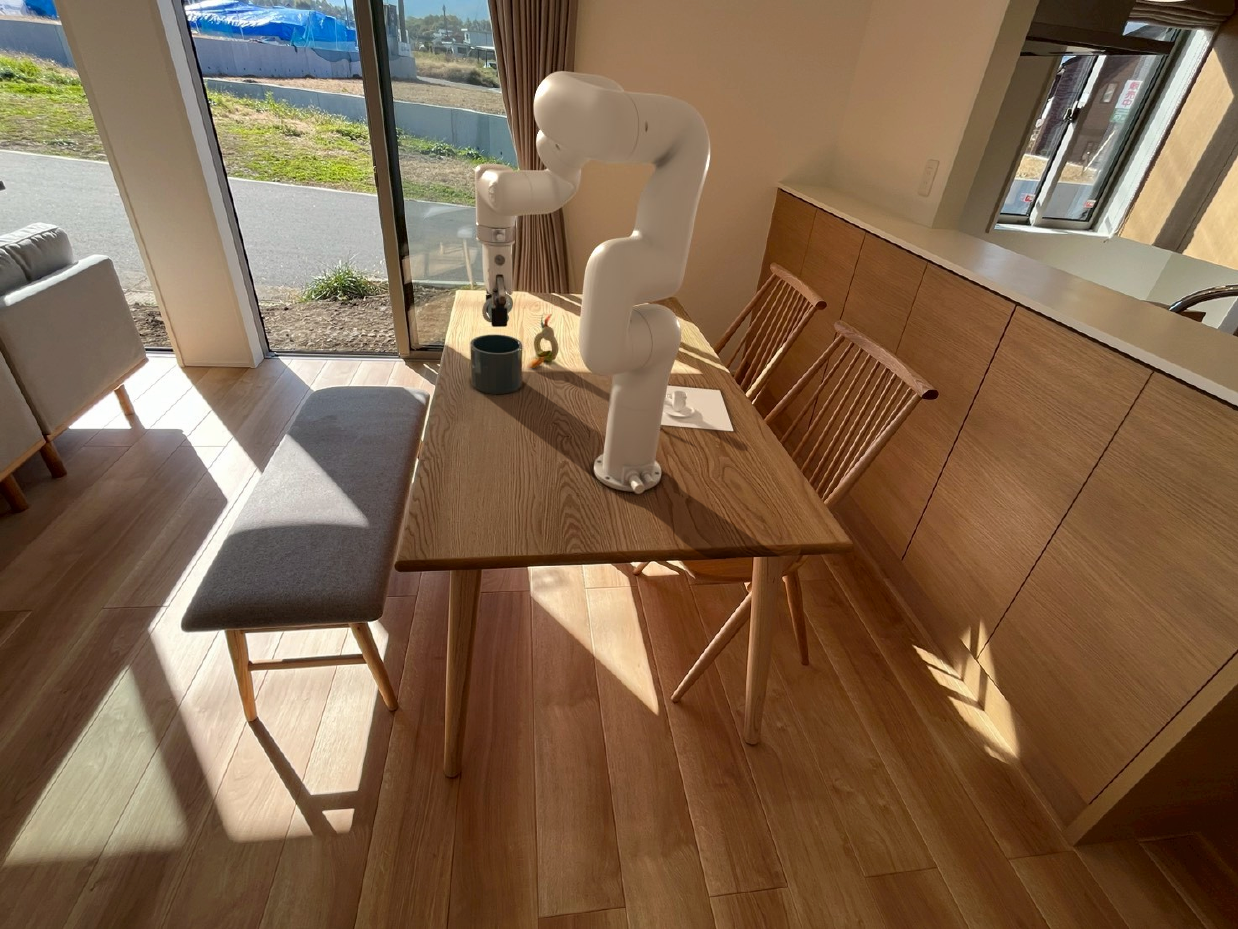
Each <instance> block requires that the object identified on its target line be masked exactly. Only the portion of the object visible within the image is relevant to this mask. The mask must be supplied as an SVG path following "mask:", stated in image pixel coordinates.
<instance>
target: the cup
mask: <svg viewBox="0 0 1238 929" xmlns="http://www.w3.org/2000/svg"><path fill="white" fill-rule="evenodd" d="M469 350H470V380H471V385H472V387H473V388H474V389H475V390H477V391H479V392H481V393H485V394H490V395H491V394H492V395H504V394H511V393H514V392H516V391H518V390H519V389H520V388H521V387H522V385H523V350H524V349H523V343H522V341H520V340H519V339H518V338H516V337H513V336H509V335H505V334H495V333H494V334H484V335H479V336H476V337H475V338H473V339H471V340H470V342H469Z"/></svg>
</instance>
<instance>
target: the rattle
mask: <svg viewBox="0 0 1238 929" xmlns="http://www.w3.org/2000/svg"><path fill="white" fill-rule="evenodd" d="M552 315H553V314H552V313H550V314H548V316H546V317H545V319H544V322H543V316H541V318H540V327H541V329H542V330H541V331H539V332H538V333H536V334H535V336H534V339H533V349H534V352H535V354H536V357H537V358H535V359H534V360H532V361H531V362H530V364H529V368H531V369H535V368H537V367H539V366H541V365H542V364H543V363H544V361H546V362H552V361H555V360H556V358H557V356H558V354H559V351H560V350H559V349H560V347H559V343H558V340H557V338H556V337H555V331H554V329H553V328H552V327H551V326H549V324H548V323H549V320H550V318H551V317H552ZM543 339H544V340H545V341H548V342H549V343H550V346H551V349H550V350H549V349H548V350H543V349H542V346H541V341H542V340H543Z"/></svg>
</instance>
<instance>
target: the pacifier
mask: <svg viewBox="0 0 1238 929" xmlns="http://www.w3.org/2000/svg"><path fill="white" fill-rule="evenodd" d="M496 298H498V296H495V300H496ZM506 302H507V323H508V322H509V320H510V315H509V314H510V313H511V311H512V309H513V307H514V300H513V298H512V296H511V295H509V294H507V293H506ZM488 305H489V306H488ZM487 306H488V313H487V312H486V309H487ZM491 307H493V304H492V298H489V299H488V300H487V301H486V300H485V301H484V303H483V306H482V309H481V315H482V317H483V319H484V320H485V321H486V322H487V323H491Z"/></svg>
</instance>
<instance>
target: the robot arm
mask: <svg viewBox="0 0 1238 929" xmlns="http://www.w3.org/2000/svg"><path fill="white" fill-rule="evenodd" d="M533 115H534V120H535V123H536V125H537V127H538V129H539V131H538V133H537V136H536V140H535V145H536V150H537V154H538V157H539V159H540V161H541V162H542V164H543V165H544V167H545V169H542V170H536V169H535V170H534V169H533V170H531V169H526V170H525V169H523V170H522V169H520V170H514V169H513V168H512V167H510V166H508V165H504V164H500V163H481V164H478V165H477V166H476V167H475V171H474V188H475V219H476V220H475V223H476V224H475V228H476V229H475V231H476V232H475V233H476V241H477V243H480V244H481V247H482V248H481V249H482V250H481V251H482V253H481V254H482V274H483V275H482V277H483V283H484V285H485V293H486V294H485V302H486V301H487V300H488V299H489V298H492V304H493V307H491V322H490V324H491V327H492V328H505V327H507V326H508V322H507V302H506V294H508V295H509V296H511V295H513V293H514V286H513V258H512V245H514V244H515V243H516V241H515V240H516V217H520V216H528V215H548V214H551V213H554V212H557V211H558V210H559V209H561V208H562V207H563V206H564V205H566V204H567V203H568V202H569V201H570V200H572V199H573V197H575V196H576V194H577V192H578V191H579V188H580V184H581V179H582V169H583V168H584V166H586V165H587V164H588V163H589V162H590V161H591V160H593V161H596V162H599V163H603V164H607V165H648V164H649V165H650V164H651V165H653V166H654V170H653V173H652V175H651V176H650V177H649V178H648V180H647V181H646V183H645V185H644V187H643V189H642V191H641V193H640V196H639V199H638V203H637V207H636V215H635V216H636V217H635V222H634V227H633V231H632V233H631V235H630V236H625V237H617V238H612V239H609V240H605V241H603V242H601V243H600V244H599V245H598V246H596V247H595V248H594V250H593V251H592V253H591V254H590V256H589V258H588V260H587V263H586V266H585V270H584V278H583V286H582V294H581V296H582V297H581V305H580V306H581V307H580V316H579V326H578V349H579V354H580V357H581V360H582V362H583V364H584V367H586V368H587V369H588V371H589V372H590V373H593V374H594V375H596V376H600V377H611V376H612V380H611V384H610V389H609V392H610V393H609V399H608V408H607V418H606V427H605V438H604V447H603V453H602V454H600V455H599V456H598V457H596V458H595V460H594V463H593V473H594V475H595V477H596V478H597V480H598V481H599V482H601V483H602V484H604V485H605V486H607V487H609V488H612V489H615V490H618V491H623V492H634V493H635V494H636V495H640V494H642V493H643V492H645V491H646V490H649V489H651V488H654V487H655V486H657V484H658V483H659V482H660V481H661V477H662V468H661V465H660V464H659V462H658V461H657V460H656V457H657V451H658V445H659V439H660V432H661V427H662V425H661V421H662V415H663V408H664V403H665V397H666V391H667V386H669V381H670V376H671V373H672V370H673V367H674V364H675V361H676V359H677V356H678V353H679V350H680V347H681V344H682V343H681V341H682V327H681V323H680V321H679V318H678V317H677V315H676V313H674V312H673V310H671V309H670V308H668V307H667V306H665V305H662V304H658V303H653V302H658V301H662V300H666V299H668V298H672V297H673V296H675V295H676V294H677V293H678V292H679V290H681V287H682V284H683V281H684V279H685V278H684V277H685V274H686V269H687V263H688V259H689V255H690V254H689V253H690V248H691V243H692V239H693V234H694V228H695V222H696V217H697V210H698V206H699V203H700V198H701V195H702V192H703V188H704V185H705V182H706V178H707V174H708V171H709V167H710V166H709V165H710V160H711V140H710V134H709V130H708V127H707V124H706V122H705V120H704V118H703V117H702V115H701V114H700V112H699V111H698V110H697V108H695V107H694V106H693V105H692V104H690V103H688V102H686V101H685V100H682V99H680V98H677V97H674V96H671V95H665V94H658V93H647V92H636V91H635V92H634V91H625V90H624V88H623V87H622V86H621V85H620V84H619V83H618V82H617V81H615V80H613V79H612V78H609V77H607V76H603V75H598V74H590V73H582V72H576V71H575V72H573V71H565V70H560V71H554V72H552V73H549V75H547V76H546V77H545V78H544V79H543V80H542V81H541V83H540V84H539V86H538V87H537V89H536V91H535V95H534V100H533ZM495 296H498V298H496V300H495ZM488 306H489V305H488ZM488 306H487V309H486V313H487V314H488Z"/></svg>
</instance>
